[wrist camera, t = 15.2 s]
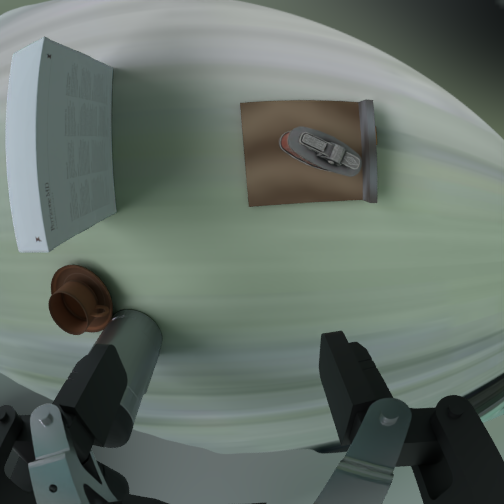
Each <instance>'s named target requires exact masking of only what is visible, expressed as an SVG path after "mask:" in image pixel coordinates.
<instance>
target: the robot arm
mask: <svg viewBox="0 0 504 504" xmlns="http://www.w3.org/2000/svg"><path fill="white" fill-rule="evenodd" d="M161 343H162V335H161V331H160V329H159V327H158V326H157V324H156V323H155V322H154V321H153V320H152V319H151V318H150V317H148V316H147V315H145V314H143V313H141V312H139V311H135V310H122V311H119V312H117V313H116V314H115V315H114V316H113V317H112V319H111V320H110V322H109V323H108V325H107V326H106V328H105V329H104V330H103V332H102V333H101V335H100V336H99V338H98V339H97V341H96V342H95V344H94V345H93V347H92V349H91V350H90V352H89V353H88V355H86V356H85V357H83V358H82V359H81V360H80V361H79V362H77V364H76V366H75V367H74V369H73V370H72V373H70V375H69V377H68V380H66V382H65V383H64V385H63V386H62V388H61V390H60V391H59V393H58V395H57V396H56V398H55V400H54V402H53V403H52V404H44V405H41V406H39V407H38V408H36V409H35V410H34V411H33V413H32V414H31V415H21V416H20V415H18V414H17V412H16V411H15V410H14V408H13V407H11V406H9V405H4V406H1V407H0V504H168V503H165V502H163V501H160V500H157V499H153V498H147V497H141V496H136V495H131V494H129V486H128V482H127V480H126V479H125V477H124V476H123V475H121V474H120V473H118V472H116V471H114V470H113V469H111V468H109V467H107V466H105V465H104V464H102V463H100V462H98V461H97V460H96V459H95V456H94V454H93V452H92V451H91V448H92V445H96V446H100V447H108V448H116V447H121V446H123V445H124V444H126V443H127V441H128V440H129V438H130V435H131V432H132V429H133V425H134V422H135V419H136V415H137V412H138V409H139V406H140V403H141V400H142V397H143V395H144V394H146V392H147V389H148V386H149V383H150V380H151V377H152V374H153V371H154V368H155V365H156V363H157V360H158V357H159V349H160V347H161ZM319 372H320V378H321V382H322V385H323V388H324V391H325V394H326V397H327V401H328V404H329V407H330V410H331V413H332V417H333V420H334V423H335V426H336V430H337V433H338V436H339V440H340V443H341V446H344V445H348V444H351V446H350V448H349V449H348V451H347V453H346V455H345V457H344V458H343V460H341V461H340V463H339V464H338V466H337V467H336V469H335V471H334V472H333V474H332V476H331V477H330V479H329V480H328V482H327V484H326V485H325V487H324V488H323V490H322V491H321V493H320V495H319V496H318V498H317V499H316V501H315V502H314V503H313V504H382V503H383V501H384V499H385V496H386V494H387V492H388V490H389V488H390V485H391V483H392V480H393V476H394V475H393V471H394V468H395V467H399V466H411V467H412V470H413V473H414V475H415V478H416V481H417V484H418V487H419V490H420V493H421V497H422V499H423V503H424V504H504V461H503V459H502V457H501V455H500V453H499V451H498V449H497V448H496V446H495V444H494V442H493V440H492V438H491V437H490V435H489V433H488V431H487V430H486V428H485V426H484V425H483V423H482V421H481V419H480V418H479V416H478V414H477V413H476V411H475V409H474V408H473V406H472V405H471V403H470V402H469V401H468V400H467V399H465V398H463V397H461V396H457V395H450V396H446V397H444V398H442V399H441V400H440V401H439V402H438V404H437V406H436V408H419V409H414V408H409V407H408V405H407V404H406V403H404V402H403V401H401V400H398V399H395V398H393V396H392V395H391V393H390V391H389V389H388V387H387V385H386V383H385V382H384V380H383V378H382V376H381V374H380V373H379V371H378V369H377V368H376V365H375V363H374V362H373V361H372V358H371V356H370V355H369V353H368V351H367V349H366V348H364V347H363V346H362V345H360V344H359V343H358V342H352V343H348V341H347V339H346V337H345V335H344V333H343V332H342V331H336V332H329V333H322V335H321V344H320V358H319ZM12 449H13V450H14V451H15V452H16V453H17V454H18V455H19V458H18V461H17V463H16V466H15V468H14V470H13V473H12V475H11V478H10V479H9V478H8V477H7V476H6V475H5V472H4V466H5V463H6V461H7V459H8V457H9V454H10V452H11V450H12ZM253 504H266V503H253Z"/></svg>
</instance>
